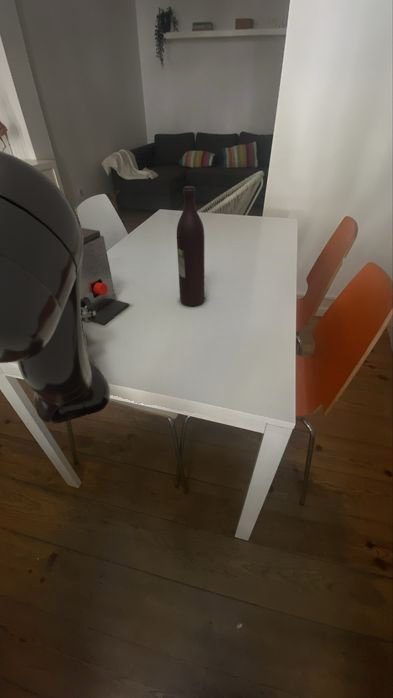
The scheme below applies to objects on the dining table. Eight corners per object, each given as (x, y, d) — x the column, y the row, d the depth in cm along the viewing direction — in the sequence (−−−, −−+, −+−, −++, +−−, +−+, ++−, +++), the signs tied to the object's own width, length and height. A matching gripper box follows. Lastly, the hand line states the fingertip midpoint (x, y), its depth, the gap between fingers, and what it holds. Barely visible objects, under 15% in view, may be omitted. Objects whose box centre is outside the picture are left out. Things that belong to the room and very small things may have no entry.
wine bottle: (187, 293, 96) (183, 182, 77) (208, 298, 93) (209, 185, 75) (175, 303, 91) (168, 188, 72) (197, 309, 88) (195, 191, 70)
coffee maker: (130, 305, 91) (118, 233, 78) (102, 326, 82) (84, 250, 70) (82, 292, 97) (64, 224, 85) (52, 310, 89) (27, 238, 77)
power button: (108, 292, 86) (106, 281, 84) (100, 297, 83) (98, 286, 81) (102, 291, 86) (100, 280, 84) (94, 296, 84) (92, 285, 82)
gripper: (98, 311, 59) (86, 276, 72) (15, 329, 55) (17, 289, 68) (106, 343, 64) (94, 306, 76) (29, 362, 60) (29, 319, 72)
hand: (58, 298), depth 72 cm, fingers closed on sauce bottle, 6 cm apart
